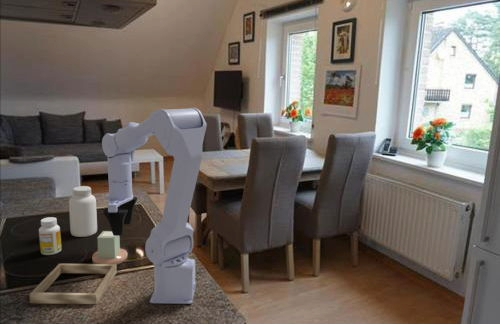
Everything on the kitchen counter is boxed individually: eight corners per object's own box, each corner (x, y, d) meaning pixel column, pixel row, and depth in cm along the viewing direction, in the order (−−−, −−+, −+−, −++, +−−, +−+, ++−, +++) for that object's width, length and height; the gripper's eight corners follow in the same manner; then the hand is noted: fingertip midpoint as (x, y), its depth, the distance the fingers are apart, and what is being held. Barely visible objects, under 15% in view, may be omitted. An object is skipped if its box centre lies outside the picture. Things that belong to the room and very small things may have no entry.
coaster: (130, 251, 113) (130, 248, 113) (121, 266, 104) (121, 262, 104) (99, 251, 113) (99, 247, 112) (87, 265, 104) (87, 261, 104)
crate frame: (116, 272, 101) (116, 264, 101) (96, 304, 87) (96, 295, 86) (59, 271, 101) (59, 263, 100) (30, 303, 86) (29, 294, 86)
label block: (120, 251, 110) (119, 231, 109) (115, 258, 106) (114, 237, 105) (104, 251, 110) (103, 230, 109) (98, 258, 106) (97, 237, 105)
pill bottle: (93, 237, 122) (90, 191, 119) (66, 237, 121) (63, 191, 118) (100, 228, 130) (98, 184, 127) (76, 228, 129) (73, 184, 126)
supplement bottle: (56, 245, 115) (54, 214, 113) (65, 251, 112) (62, 219, 110) (37, 251, 111) (34, 219, 109) (45, 257, 108) (42, 224, 106)
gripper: (113, 172, 107) (115, 219, 109) (94, 186, 92) (97, 240, 95) (139, 173, 107) (140, 219, 110) (124, 187, 93) (126, 240, 95)
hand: (122, 229), depth 102 cm, fingers open, 7 cm apart
